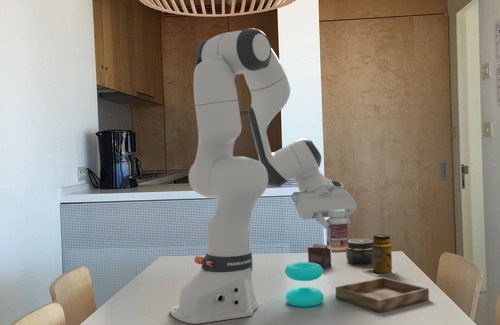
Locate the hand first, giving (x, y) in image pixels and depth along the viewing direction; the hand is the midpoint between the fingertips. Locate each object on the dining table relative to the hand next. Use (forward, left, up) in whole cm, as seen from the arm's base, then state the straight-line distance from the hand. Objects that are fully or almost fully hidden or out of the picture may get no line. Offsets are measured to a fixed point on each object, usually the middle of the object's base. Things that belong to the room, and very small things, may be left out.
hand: (338, 226), depth 153 cm
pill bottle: (0, +1, -7) cm, 7 cm away
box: (+12, +24, -18) cm, 32 cm away
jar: (+28, +21, -18) cm, 39 cm away
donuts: (-18, -6, -18) cm, 26 cm away
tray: (0, -16, -18) cm, 24 cm away
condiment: (+22, +6, -18) cm, 29 cm away
